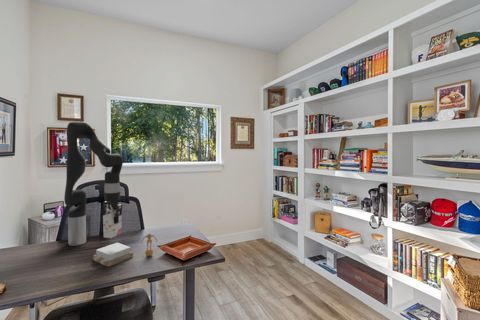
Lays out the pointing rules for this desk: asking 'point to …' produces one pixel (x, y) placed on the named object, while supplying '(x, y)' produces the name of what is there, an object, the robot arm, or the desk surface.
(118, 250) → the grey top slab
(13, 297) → the desk surface
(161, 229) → the desk surface
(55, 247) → the desk surface
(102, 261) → the birch base slab
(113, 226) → the ink cartridge box
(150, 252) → the figurine
